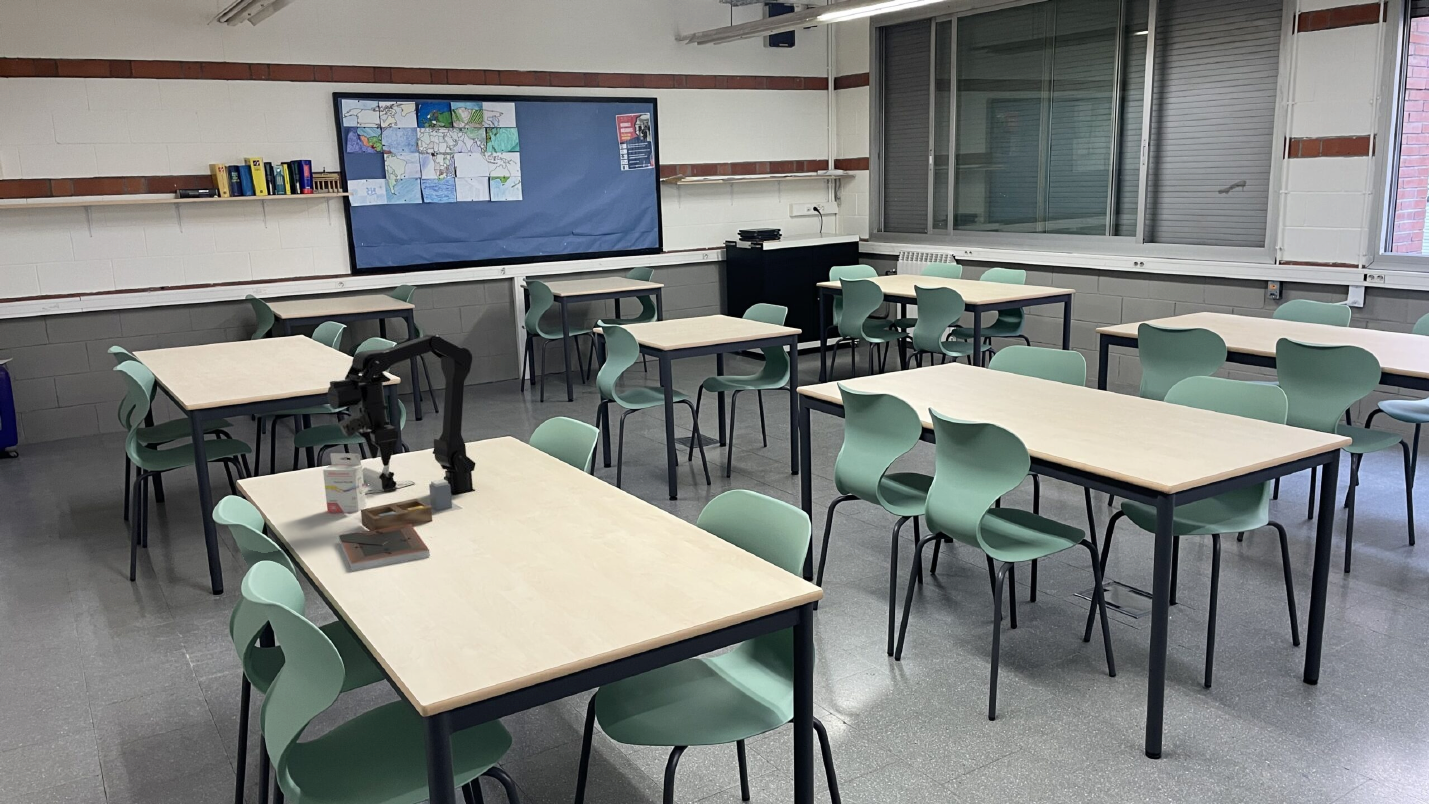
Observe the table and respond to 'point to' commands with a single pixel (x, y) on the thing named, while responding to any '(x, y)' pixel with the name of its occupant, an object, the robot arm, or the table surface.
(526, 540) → the table surface
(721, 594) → the table surface
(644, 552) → the table surface
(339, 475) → the ink cartridge box
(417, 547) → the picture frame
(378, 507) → the socket block
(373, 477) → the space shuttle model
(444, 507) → the plug
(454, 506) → the pad
